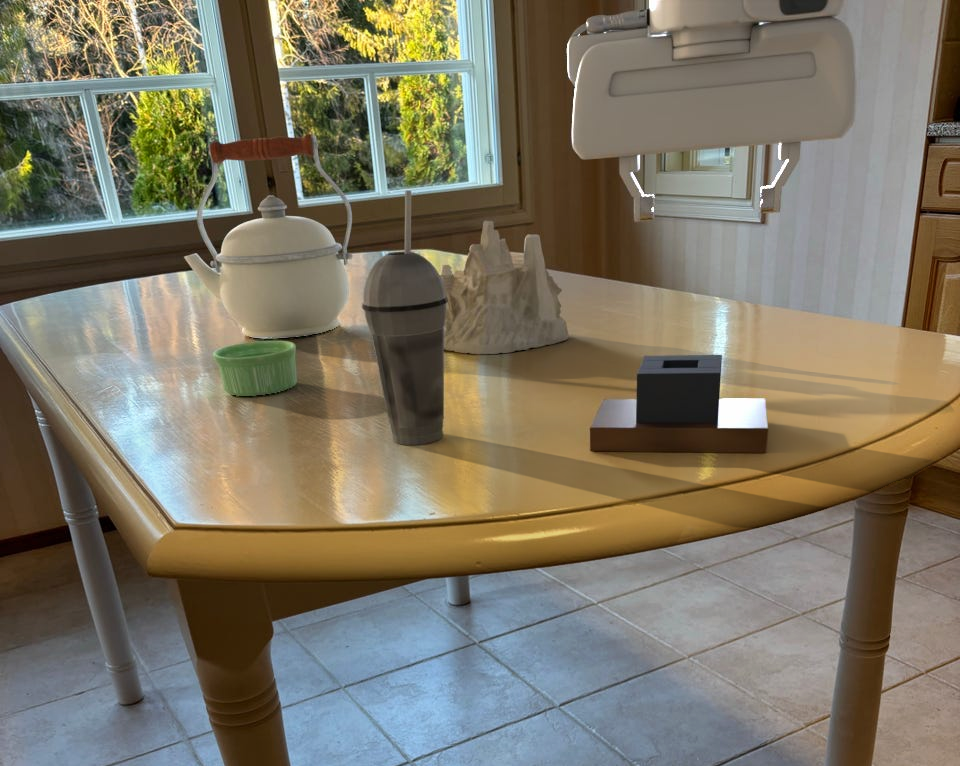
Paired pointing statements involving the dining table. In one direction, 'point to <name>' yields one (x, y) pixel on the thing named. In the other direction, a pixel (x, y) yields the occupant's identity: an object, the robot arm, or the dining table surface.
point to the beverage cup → (408, 339)
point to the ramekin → (257, 367)
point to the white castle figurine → (501, 299)
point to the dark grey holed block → (678, 389)
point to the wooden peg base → (682, 429)
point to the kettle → (276, 255)
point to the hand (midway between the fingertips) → (705, 216)
